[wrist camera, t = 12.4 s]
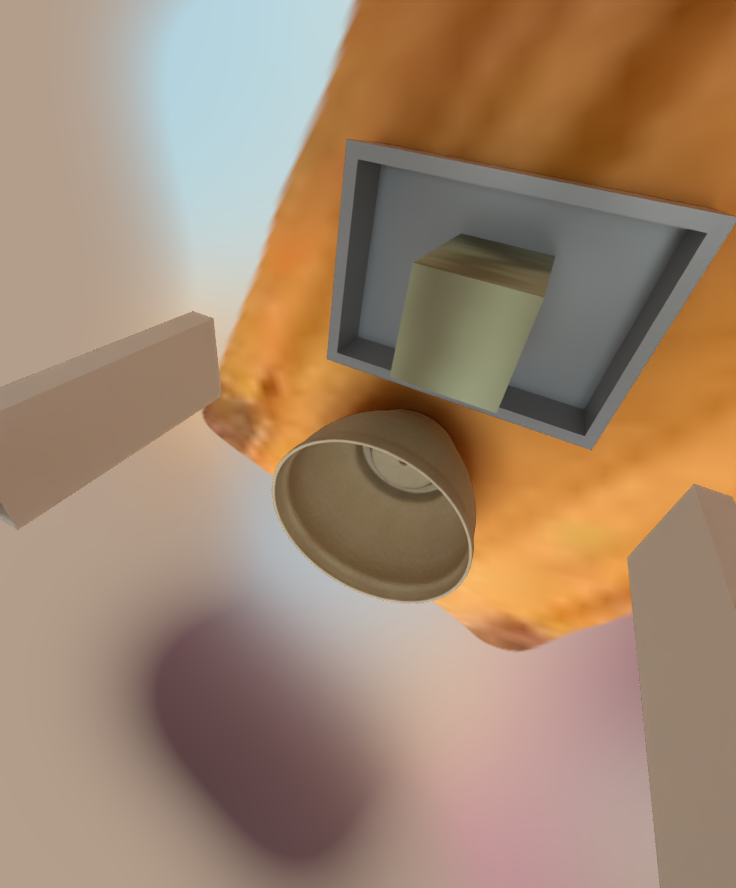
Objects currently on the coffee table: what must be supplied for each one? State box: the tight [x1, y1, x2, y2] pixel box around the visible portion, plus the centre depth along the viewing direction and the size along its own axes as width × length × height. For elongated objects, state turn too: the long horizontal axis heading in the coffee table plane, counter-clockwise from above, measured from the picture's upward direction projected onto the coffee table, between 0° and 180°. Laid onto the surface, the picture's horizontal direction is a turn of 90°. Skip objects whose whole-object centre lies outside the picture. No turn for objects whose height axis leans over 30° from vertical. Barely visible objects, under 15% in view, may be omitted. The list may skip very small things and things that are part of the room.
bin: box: [327, 139, 736, 450], centre depth 26 cm, size 20×14×4 cm
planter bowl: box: [272, 409, 476, 603], centre depth 34 cm, size 16×16×11 cm
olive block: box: [390, 233, 555, 413], centre depth 24 cm, size 6×6×10 cm
